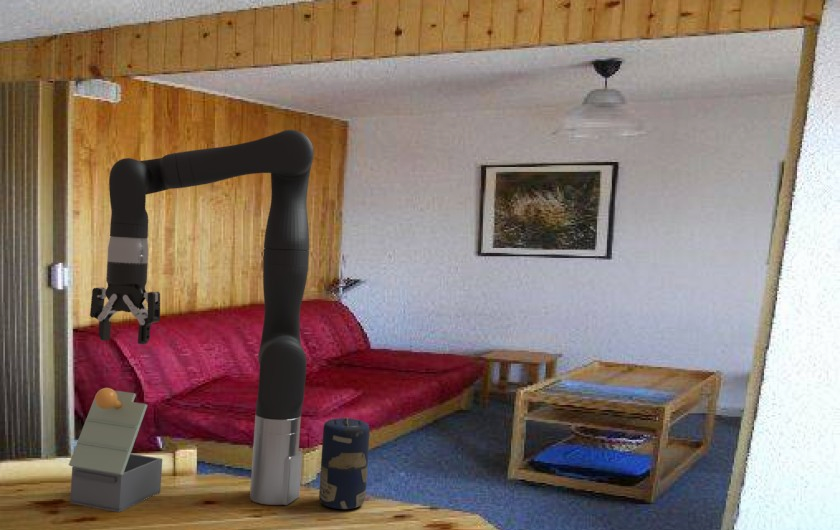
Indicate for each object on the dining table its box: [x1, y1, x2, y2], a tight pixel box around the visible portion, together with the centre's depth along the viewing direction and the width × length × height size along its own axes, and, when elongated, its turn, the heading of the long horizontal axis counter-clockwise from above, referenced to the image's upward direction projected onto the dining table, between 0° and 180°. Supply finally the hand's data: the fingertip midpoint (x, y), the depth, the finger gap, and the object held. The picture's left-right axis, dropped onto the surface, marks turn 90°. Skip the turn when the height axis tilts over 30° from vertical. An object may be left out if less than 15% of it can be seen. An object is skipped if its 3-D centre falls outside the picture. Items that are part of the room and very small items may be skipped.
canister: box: [318, 416, 371, 510], centre depth 158 cm, size 10×10×18 cm
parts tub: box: [69, 453, 163, 513], centre depth 153 cm, size 11×14×7 cm
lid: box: [68, 387, 148, 475], centre depth 147 cm, size 12×15×7 cm
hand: (123, 342), depth 154 cm, fingers open, 8 cm apart
